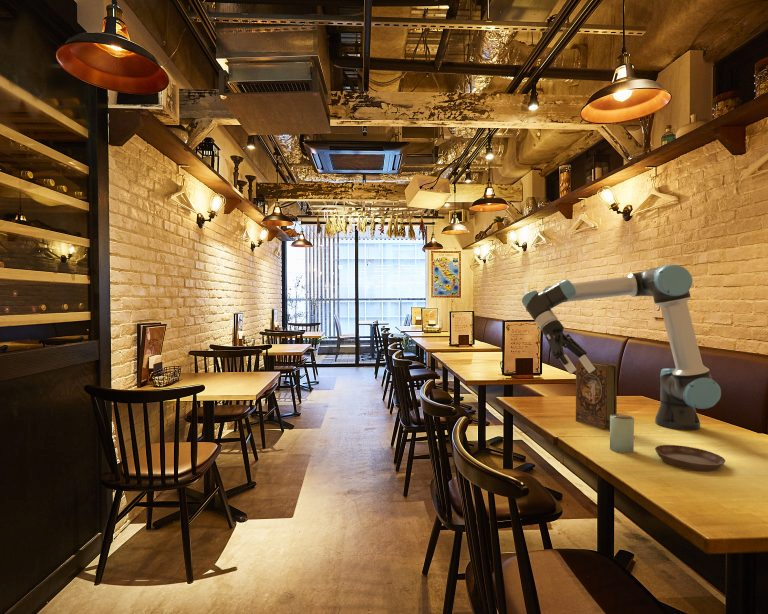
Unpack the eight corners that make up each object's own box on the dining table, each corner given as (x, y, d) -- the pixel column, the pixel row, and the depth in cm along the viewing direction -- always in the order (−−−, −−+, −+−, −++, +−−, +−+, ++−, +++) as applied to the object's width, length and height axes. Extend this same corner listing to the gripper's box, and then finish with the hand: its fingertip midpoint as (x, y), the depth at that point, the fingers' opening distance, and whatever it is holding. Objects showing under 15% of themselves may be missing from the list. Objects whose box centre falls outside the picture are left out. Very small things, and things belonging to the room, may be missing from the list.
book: (573, 420, 185) (573, 361, 185) (583, 419, 187) (583, 360, 187) (606, 430, 169) (606, 365, 169) (616, 429, 171) (616, 365, 171)
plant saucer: (720, 460, 137) (720, 450, 137) (730, 478, 122) (730, 467, 122) (654, 450, 146) (654, 441, 146) (655, 466, 131) (655, 456, 131)
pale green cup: (629, 447, 148) (629, 414, 148) (637, 454, 142) (637, 419, 142) (606, 446, 150) (607, 413, 150) (614, 452, 143) (614, 418, 143)
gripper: (559, 332, 179) (591, 376, 167) (524, 329, 163) (556, 378, 152) (573, 320, 175) (607, 365, 163) (538, 317, 159) (573, 365, 148)
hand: (583, 371), depth 157 cm, fingers open, 13 cm apart
